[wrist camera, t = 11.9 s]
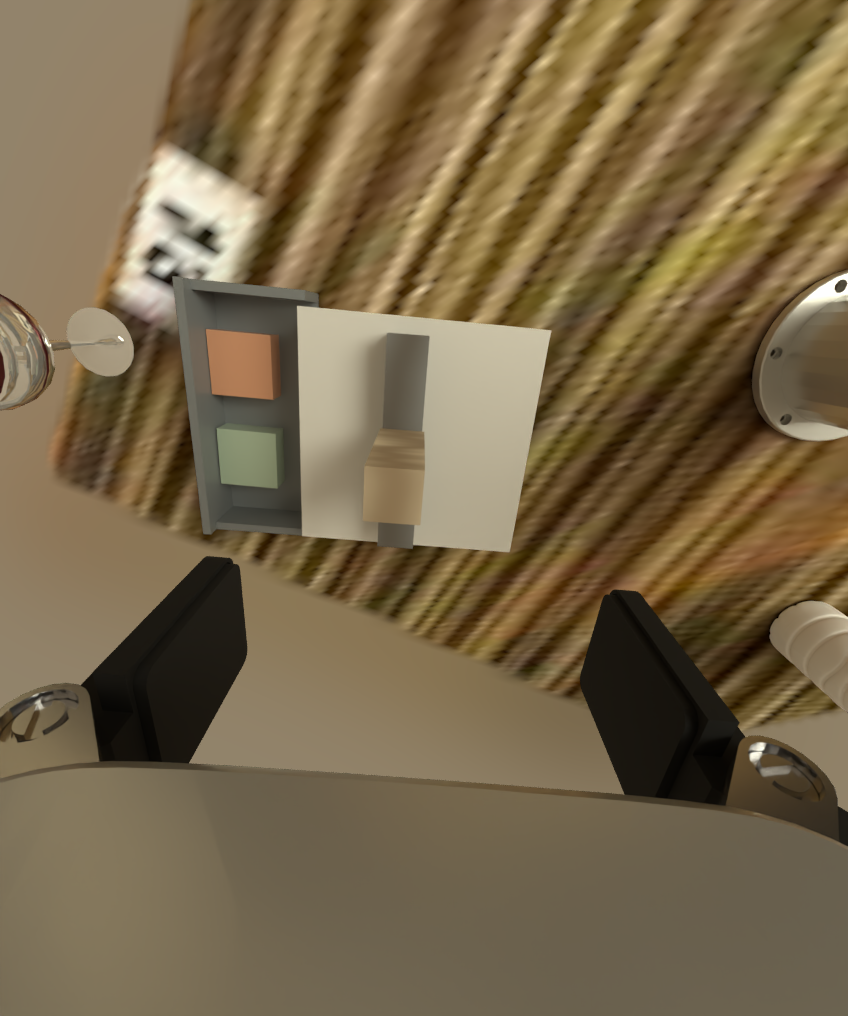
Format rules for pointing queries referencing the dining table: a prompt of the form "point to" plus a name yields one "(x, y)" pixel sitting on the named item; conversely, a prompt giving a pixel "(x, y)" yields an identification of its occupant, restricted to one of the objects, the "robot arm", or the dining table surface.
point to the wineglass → (29, 354)
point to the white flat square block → (446, 423)
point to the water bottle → (816, 645)
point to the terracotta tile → (244, 363)
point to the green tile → (251, 455)
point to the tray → (242, 400)
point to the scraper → (399, 445)
